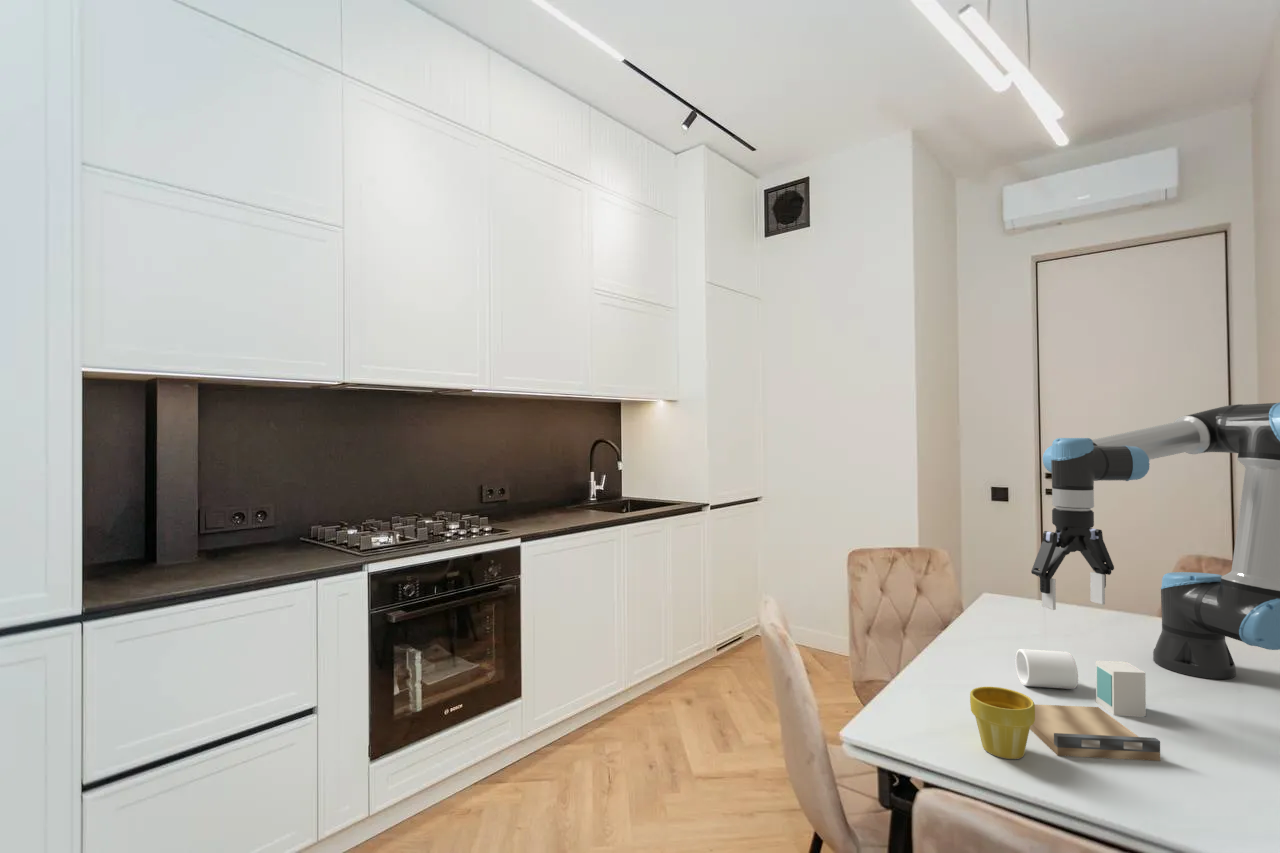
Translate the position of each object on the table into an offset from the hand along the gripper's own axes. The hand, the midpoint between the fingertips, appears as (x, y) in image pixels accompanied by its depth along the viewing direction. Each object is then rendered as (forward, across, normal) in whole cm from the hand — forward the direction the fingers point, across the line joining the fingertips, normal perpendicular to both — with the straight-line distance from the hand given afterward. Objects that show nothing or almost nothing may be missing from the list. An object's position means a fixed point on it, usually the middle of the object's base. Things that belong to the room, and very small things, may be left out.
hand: (1073, 605), depth 136 cm
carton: (+20, -4, +7) cm, 22 cm away
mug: (+20, -1, -9) cm, 22 cm away
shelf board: (+20, +14, +13) cm, 27 cm away
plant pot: (+20, +33, +14) cm, 41 cm away
